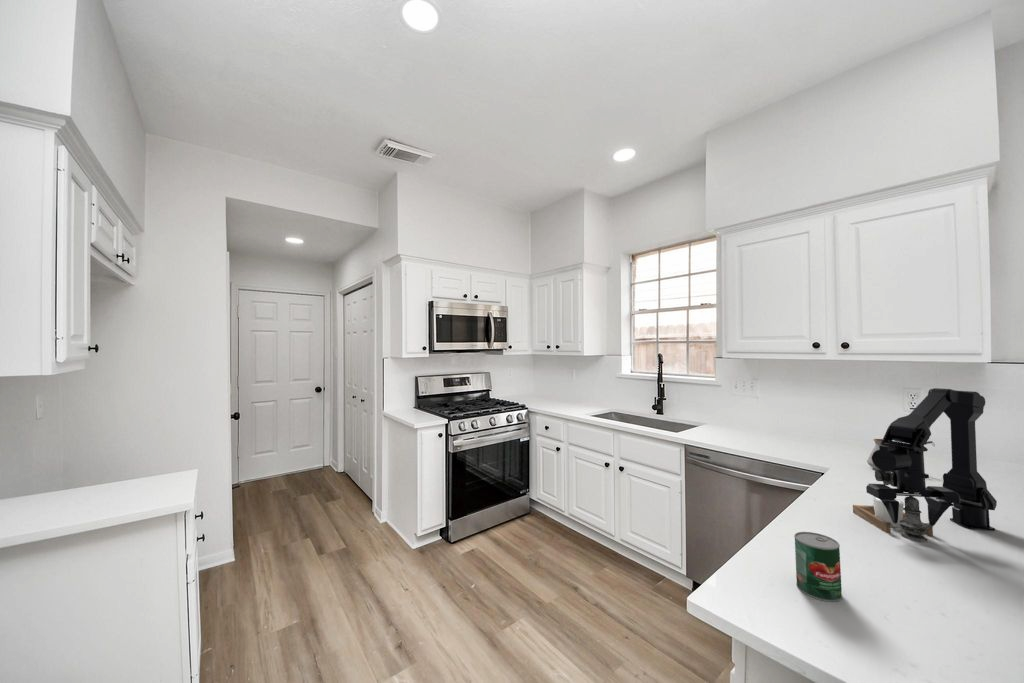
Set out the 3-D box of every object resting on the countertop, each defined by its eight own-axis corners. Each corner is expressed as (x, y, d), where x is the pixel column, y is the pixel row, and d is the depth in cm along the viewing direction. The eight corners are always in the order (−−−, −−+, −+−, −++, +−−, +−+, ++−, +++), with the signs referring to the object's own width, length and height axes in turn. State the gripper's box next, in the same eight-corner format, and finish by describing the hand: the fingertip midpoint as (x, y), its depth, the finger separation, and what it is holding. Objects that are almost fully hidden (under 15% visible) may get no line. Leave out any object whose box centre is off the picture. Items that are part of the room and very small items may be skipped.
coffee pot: (863, 469, 172) (861, 434, 172) (872, 464, 178) (870, 431, 179) (933, 481, 154) (930, 443, 154) (940, 476, 160) (938, 439, 161)
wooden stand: (893, 514, 124) (893, 504, 124) (933, 536, 109) (932, 525, 109) (852, 512, 126) (852, 502, 126) (886, 533, 111) (885, 522, 111)
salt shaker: (935, 542, 105) (932, 498, 106) (909, 541, 106) (907, 496, 107) (917, 533, 111) (915, 490, 111) (893, 531, 112) (891, 489, 113)
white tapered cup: (896, 519, 120) (895, 496, 120) (910, 529, 114) (909, 504, 114) (868, 517, 122) (867, 494, 123) (881, 526, 116) (879, 502, 116)
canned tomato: (828, 606, 80) (825, 551, 80) (788, 585, 87) (786, 535, 88) (850, 595, 83) (847, 543, 84) (809, 577, 90) (807, 529, 91)
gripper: (926, 461, 115) (929, 514, 115) (852, 458, 119) (855, 510, 119) (960, 472, 104) (964, 531, 104) (878, 469, 108) (881, 526, 108)
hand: (913, 524), depth 109 cm, fingers closed on salt shaker, 8 cm apart
